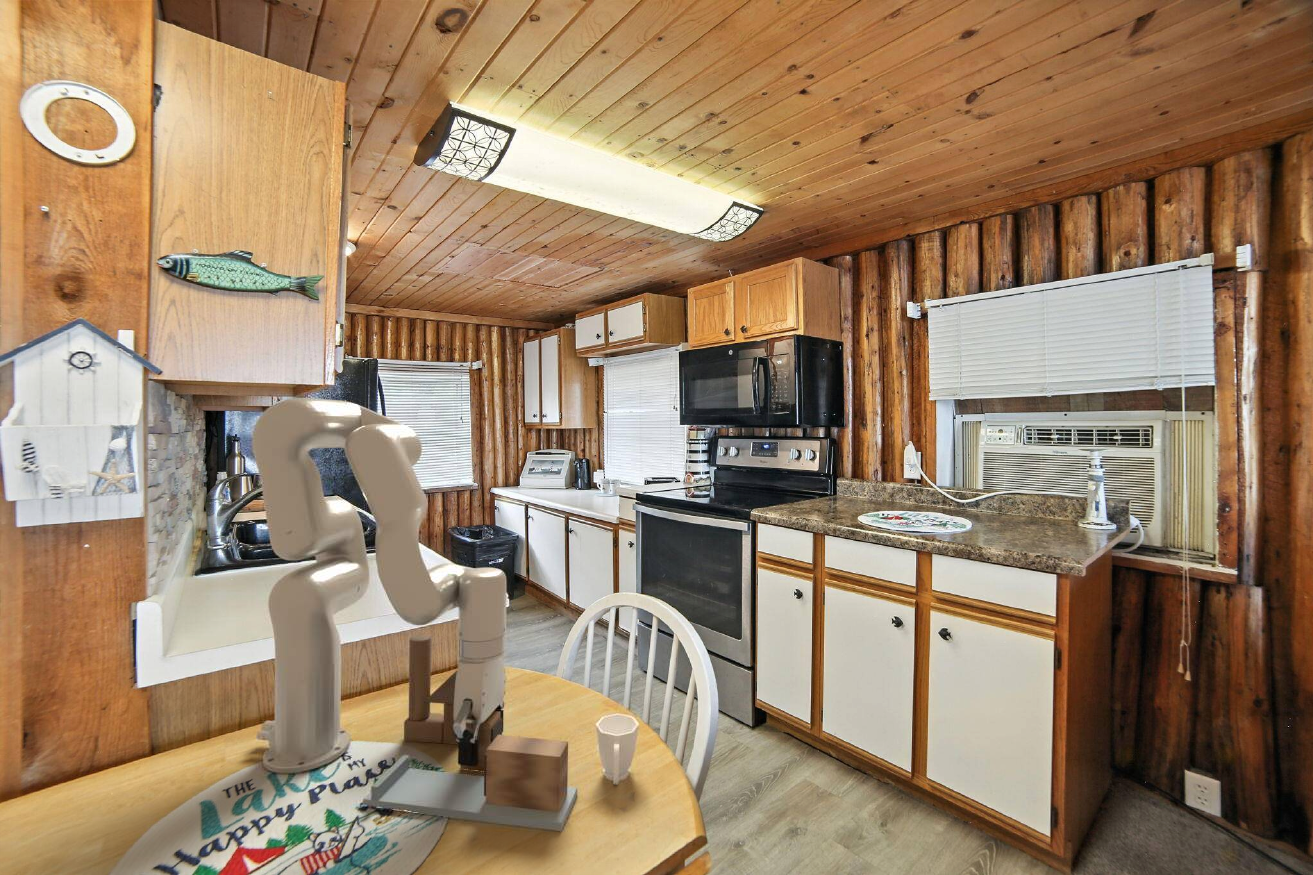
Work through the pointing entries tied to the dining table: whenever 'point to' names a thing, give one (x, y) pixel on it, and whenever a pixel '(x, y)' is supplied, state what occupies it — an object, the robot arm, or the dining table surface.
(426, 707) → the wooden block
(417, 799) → the rail
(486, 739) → the brown rectangular block
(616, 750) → the cup
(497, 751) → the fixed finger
